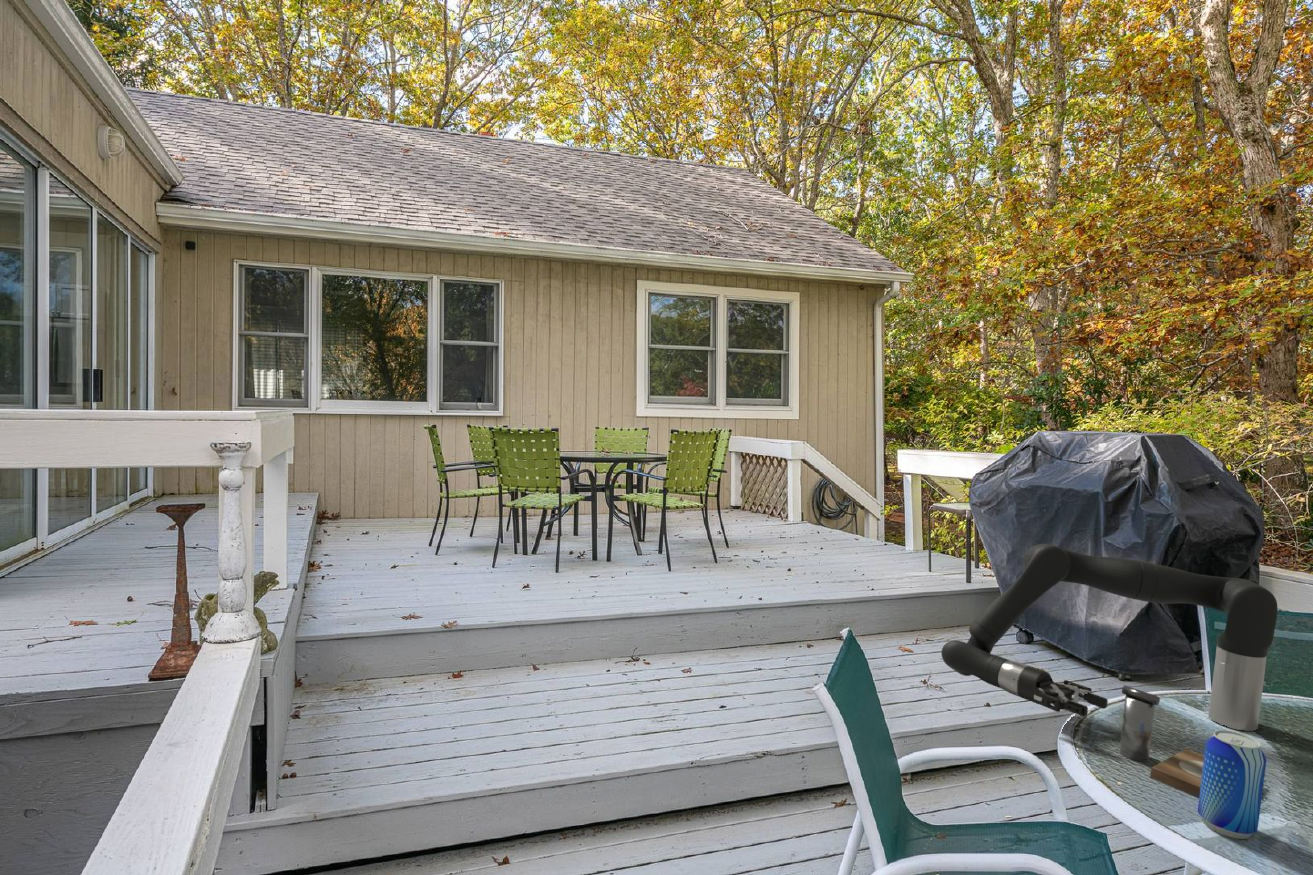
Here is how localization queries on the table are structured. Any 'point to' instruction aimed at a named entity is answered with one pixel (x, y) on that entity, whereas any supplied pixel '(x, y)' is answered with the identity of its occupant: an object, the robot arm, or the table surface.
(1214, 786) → the beer can
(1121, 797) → the table surface
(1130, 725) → the grey cylinder
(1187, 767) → the block
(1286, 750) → the table surface
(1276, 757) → the table surface
